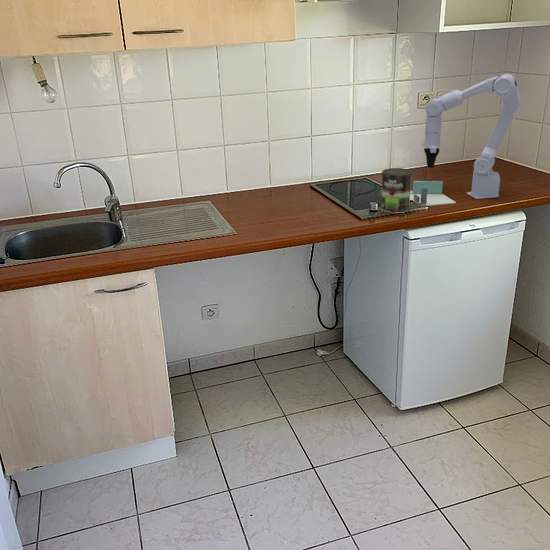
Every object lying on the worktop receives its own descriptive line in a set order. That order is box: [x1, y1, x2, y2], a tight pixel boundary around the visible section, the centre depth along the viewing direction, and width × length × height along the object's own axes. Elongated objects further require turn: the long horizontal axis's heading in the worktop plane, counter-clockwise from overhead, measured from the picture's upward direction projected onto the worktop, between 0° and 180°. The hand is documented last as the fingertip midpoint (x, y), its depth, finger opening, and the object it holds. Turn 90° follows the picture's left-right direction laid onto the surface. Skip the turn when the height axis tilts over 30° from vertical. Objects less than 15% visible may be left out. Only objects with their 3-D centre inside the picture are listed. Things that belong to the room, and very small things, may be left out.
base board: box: [410, 190, 457, 207], centre depth 222 cm, size 15×19×1 cm
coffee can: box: [380, 167, 413, 214], centre depth 207 cm, size 10×10×14 cm
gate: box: [411, 180, 443, 194], centre depth 225 cm, size 2×11×4 cm, turn 80°
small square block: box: [414, 188, 428, 205], centre depth 215 cm, size 3×6×6 cm, turn 10°
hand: (430, 167), depth 226 cm, fingers closed
